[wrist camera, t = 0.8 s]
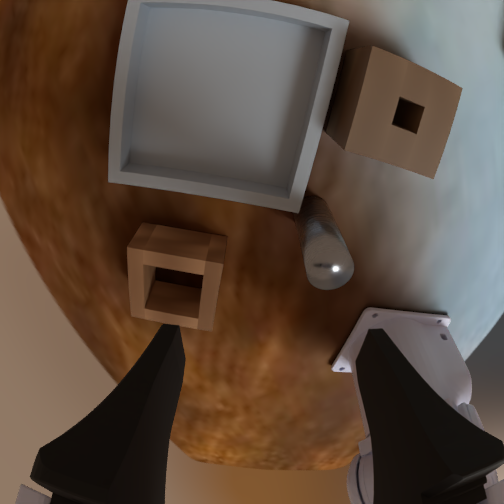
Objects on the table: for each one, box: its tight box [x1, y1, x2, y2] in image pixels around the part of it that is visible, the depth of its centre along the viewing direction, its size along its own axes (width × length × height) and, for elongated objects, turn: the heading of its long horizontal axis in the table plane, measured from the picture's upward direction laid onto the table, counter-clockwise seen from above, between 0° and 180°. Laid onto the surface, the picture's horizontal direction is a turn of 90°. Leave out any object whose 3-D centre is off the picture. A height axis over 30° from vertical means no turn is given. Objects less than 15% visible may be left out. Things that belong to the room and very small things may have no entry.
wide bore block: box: [127, 222, 227, 331], centre depth 20 cm, size 6×6×3 cm
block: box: [326, 46, 462, 179], centre depth 13 cm, size 5×5×4 cm
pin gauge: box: [293, 196, 354, 290], centre depth 16 cm, size 2×2×6 cm
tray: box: [108, 0, 349, 213], centre depth 14 cm, size 10×10×2 cm
